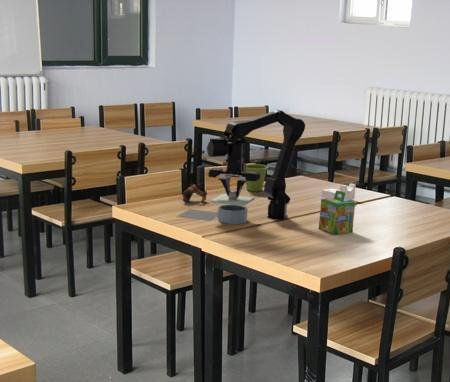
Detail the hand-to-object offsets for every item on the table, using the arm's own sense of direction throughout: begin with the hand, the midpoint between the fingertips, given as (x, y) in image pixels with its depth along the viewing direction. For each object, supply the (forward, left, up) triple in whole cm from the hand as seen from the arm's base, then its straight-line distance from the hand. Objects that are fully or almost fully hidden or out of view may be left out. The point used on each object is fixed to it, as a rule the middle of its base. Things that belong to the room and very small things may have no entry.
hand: (233, 196), depth 267 cm
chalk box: (-39, -4, -10) cm, 40 cm away
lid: (0, 0, -2) cm, 2 cm away
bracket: (-29, -61, -10) cm, 68 cm away
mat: (+14, -2, -9) cm, 17 cm away
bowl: (0, 0, -9) cm, 9 cm away
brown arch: (+26, -23, -10) cm, 36 cm away
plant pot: (+10, -60, -10) cm, 61 cm away
